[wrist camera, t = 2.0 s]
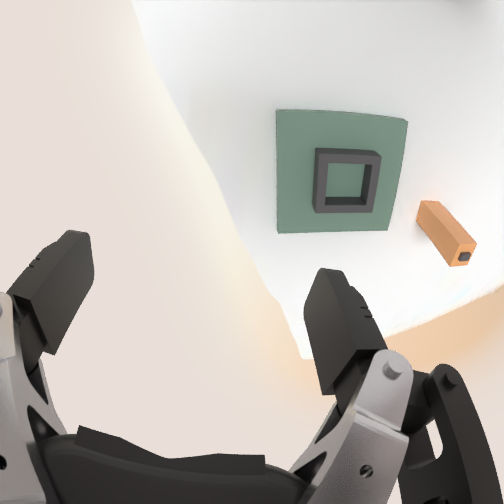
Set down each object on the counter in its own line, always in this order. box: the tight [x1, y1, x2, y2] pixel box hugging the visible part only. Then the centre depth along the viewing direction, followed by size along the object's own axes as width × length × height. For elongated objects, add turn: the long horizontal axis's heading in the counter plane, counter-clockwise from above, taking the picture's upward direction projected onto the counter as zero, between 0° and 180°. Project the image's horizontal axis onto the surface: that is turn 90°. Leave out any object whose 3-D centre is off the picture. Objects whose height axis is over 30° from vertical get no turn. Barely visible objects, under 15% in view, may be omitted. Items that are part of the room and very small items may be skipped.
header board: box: [276, 110, 408, 234], centre depth 35 cm, size 18×18×4 cm
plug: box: [416, 201, 477, 267], centre depth 35 cm, size 4×4×13 cm
